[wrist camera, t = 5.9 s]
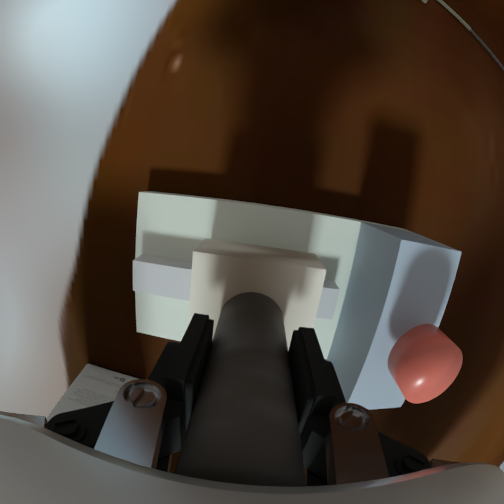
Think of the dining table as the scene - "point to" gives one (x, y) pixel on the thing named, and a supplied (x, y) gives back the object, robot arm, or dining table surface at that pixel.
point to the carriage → (249, 363)
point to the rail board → (234, 226)
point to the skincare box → (91, 389)
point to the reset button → (424, 363)
